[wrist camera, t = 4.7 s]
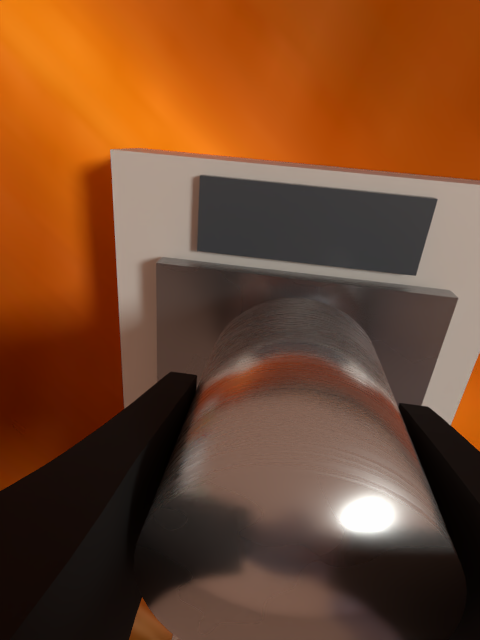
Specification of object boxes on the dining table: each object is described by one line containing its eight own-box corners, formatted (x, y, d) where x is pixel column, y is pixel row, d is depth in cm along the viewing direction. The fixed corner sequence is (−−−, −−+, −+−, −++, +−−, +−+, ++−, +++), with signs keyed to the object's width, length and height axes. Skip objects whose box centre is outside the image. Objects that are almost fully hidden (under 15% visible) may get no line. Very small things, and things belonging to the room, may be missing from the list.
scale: (385, 510, 17) (400, 565, 15) (147, 473, 18) (126, 520, 16) (499, 182, 12) (550, 192, 9) (139, 148, 12) (105, 149, 10)
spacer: (404, 319, 9) (534, 523, 4) (349, 456, 11) (396, 710, 6) (223, 281, 9) (145, 434, 4) (199, 422, 11) (126, 643, 6)
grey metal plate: (362, 553, 15) (365, 568, 15) (162, 520, 16) (158, 533, 15) (449, 290, 11) (458, 297, 10) (162, 256, 11) (155, 262, 11)
